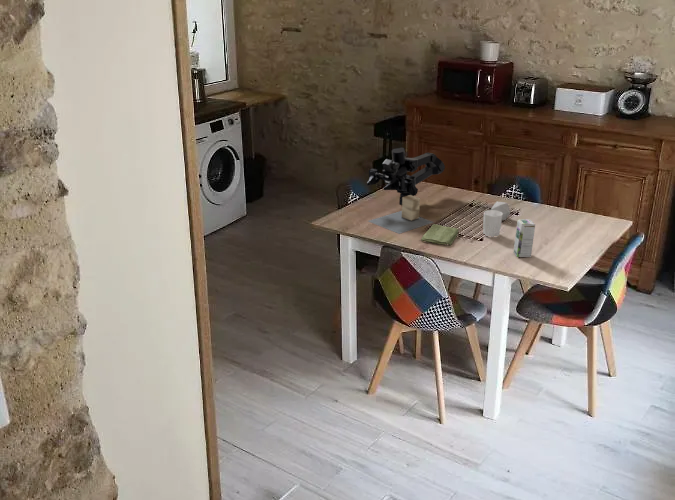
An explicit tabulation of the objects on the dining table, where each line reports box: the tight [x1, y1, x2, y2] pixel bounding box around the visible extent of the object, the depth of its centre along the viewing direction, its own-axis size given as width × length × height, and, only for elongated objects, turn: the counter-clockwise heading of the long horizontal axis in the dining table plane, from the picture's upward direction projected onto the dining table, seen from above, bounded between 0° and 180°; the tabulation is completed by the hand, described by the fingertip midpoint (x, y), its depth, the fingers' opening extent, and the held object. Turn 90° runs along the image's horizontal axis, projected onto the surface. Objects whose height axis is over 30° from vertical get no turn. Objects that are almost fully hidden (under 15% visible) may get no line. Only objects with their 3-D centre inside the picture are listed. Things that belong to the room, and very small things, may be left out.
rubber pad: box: [367, 210, 435, 235], centre depth 314 cm, size 22×20×1 cm
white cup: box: [482, 209, 503, 238], centre depth 301 cm, size 8×8×10 cm
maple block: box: [401, 195, 421, 222], centre depth 316 cm, size 5×6×10 cm
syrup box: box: [513, 218, 536, 258], centre depth 280 cm, size 6×6×14 cm
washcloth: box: [420, 223, 459, 246], centre depth 300 cm, size 13×18×3 cm
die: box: [490, 200, 511, 221], centre depth 320 cm, size 8×9×10 cm
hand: (375, 186), depth 314 cm, fingers open, 9 cm apart
